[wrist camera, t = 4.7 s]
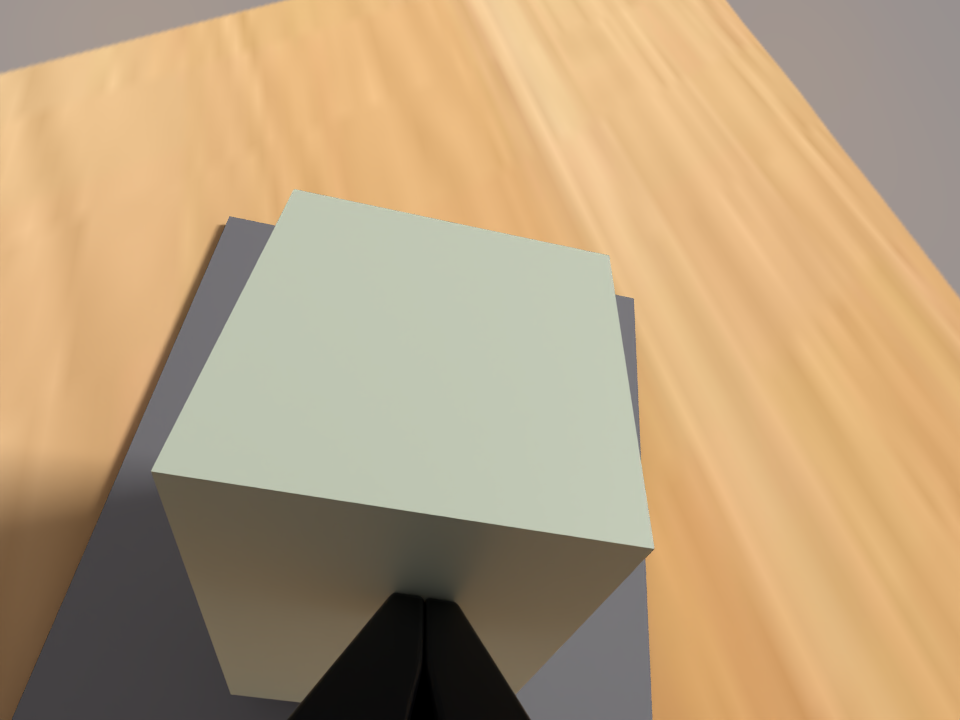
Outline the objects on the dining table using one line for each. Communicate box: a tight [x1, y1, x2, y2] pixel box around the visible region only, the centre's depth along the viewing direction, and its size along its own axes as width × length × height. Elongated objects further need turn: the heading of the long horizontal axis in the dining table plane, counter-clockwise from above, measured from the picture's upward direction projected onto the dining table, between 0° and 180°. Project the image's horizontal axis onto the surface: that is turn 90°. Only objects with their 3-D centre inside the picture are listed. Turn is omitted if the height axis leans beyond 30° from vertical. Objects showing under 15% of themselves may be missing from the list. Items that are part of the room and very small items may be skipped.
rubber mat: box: [12, 217, 652, 720], centre depth 15 cm, size 14×13×1 cm
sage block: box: [151, 189, 654, 702], centre depth 10 cm, size 5×5×8 cm
